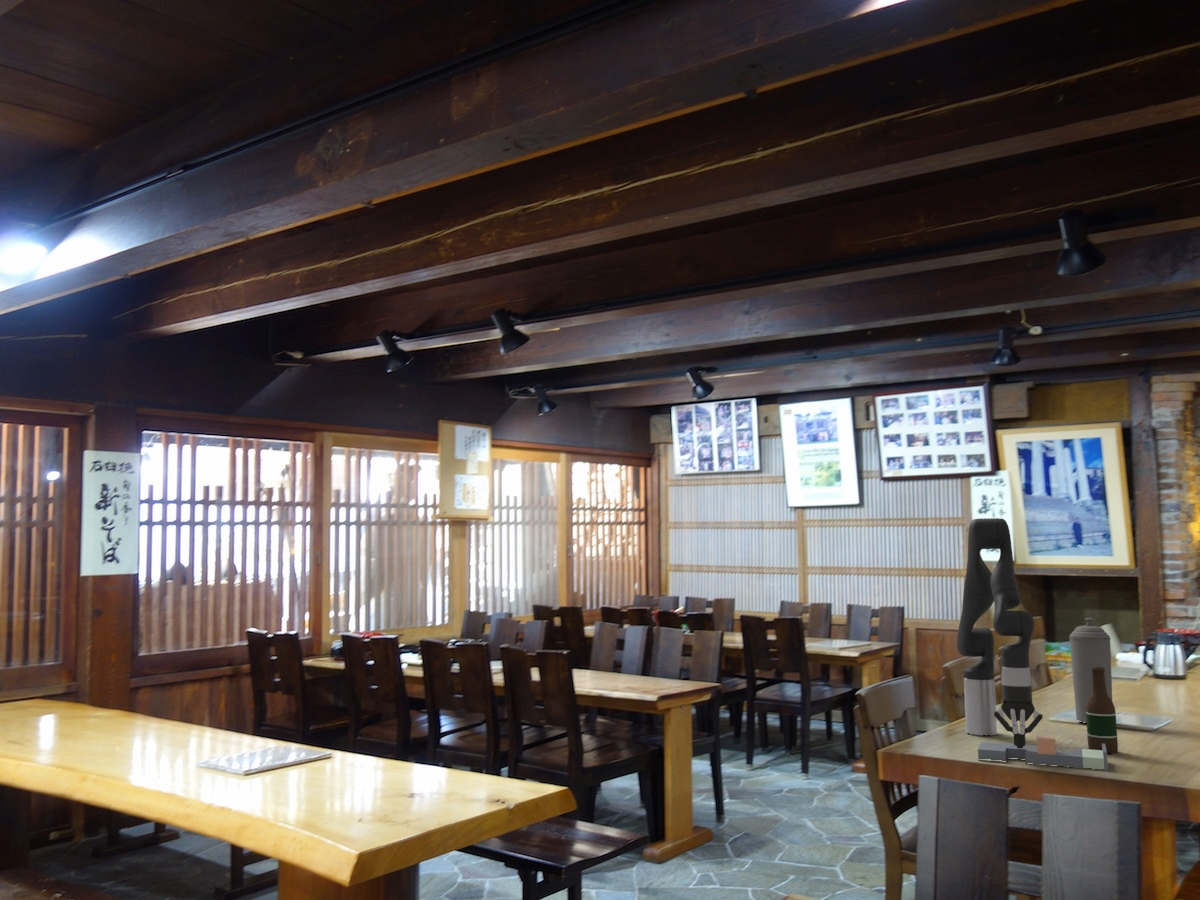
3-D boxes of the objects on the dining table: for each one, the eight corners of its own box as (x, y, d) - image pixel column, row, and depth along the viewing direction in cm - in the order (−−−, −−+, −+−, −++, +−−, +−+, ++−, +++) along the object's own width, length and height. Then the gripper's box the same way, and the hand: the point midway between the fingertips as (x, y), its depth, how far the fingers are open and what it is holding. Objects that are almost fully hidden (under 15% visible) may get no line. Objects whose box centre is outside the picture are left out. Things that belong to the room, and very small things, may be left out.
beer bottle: (1124, 753, 278) (1118, 667, 281) (1099, 754, 277) (1094, 668, 280) (1106, 748, 286) (1100, 665, 289) (1082, 749, 285) (1077, 665, 287)
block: (1036, 750, 268) (1035, 735, 269) (1054, 751, 267) (1053, 736, 267) (1037, 753, 264) (1037, 738, 264) (1056, 754, 262) (1055, 739, 263)
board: (981, 752, 281) (981, 735, 281) (1106, 761, 267) (1105, 743, 268) (978, 760, 270) (977, 742, 271) (1107, 770, 257) (1106, 751, 257)
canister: (1082, 718, 338) (1076, 616, 342) (1122, 723, 329) (1115, 617, 333) (1067, 723, 330) (1061, 618, 334) (1107, 727, 321) (1100, 619, 324)
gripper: (1043, 683, 272) (1046, 747, 270) (992, 680, 277) (995, 743, 275) (1042, 686, 265) (1046, 752, 263) (989, 683, 271) (993, 748, 269)
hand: (1019, 747), depth 269 cm, fingers closed
